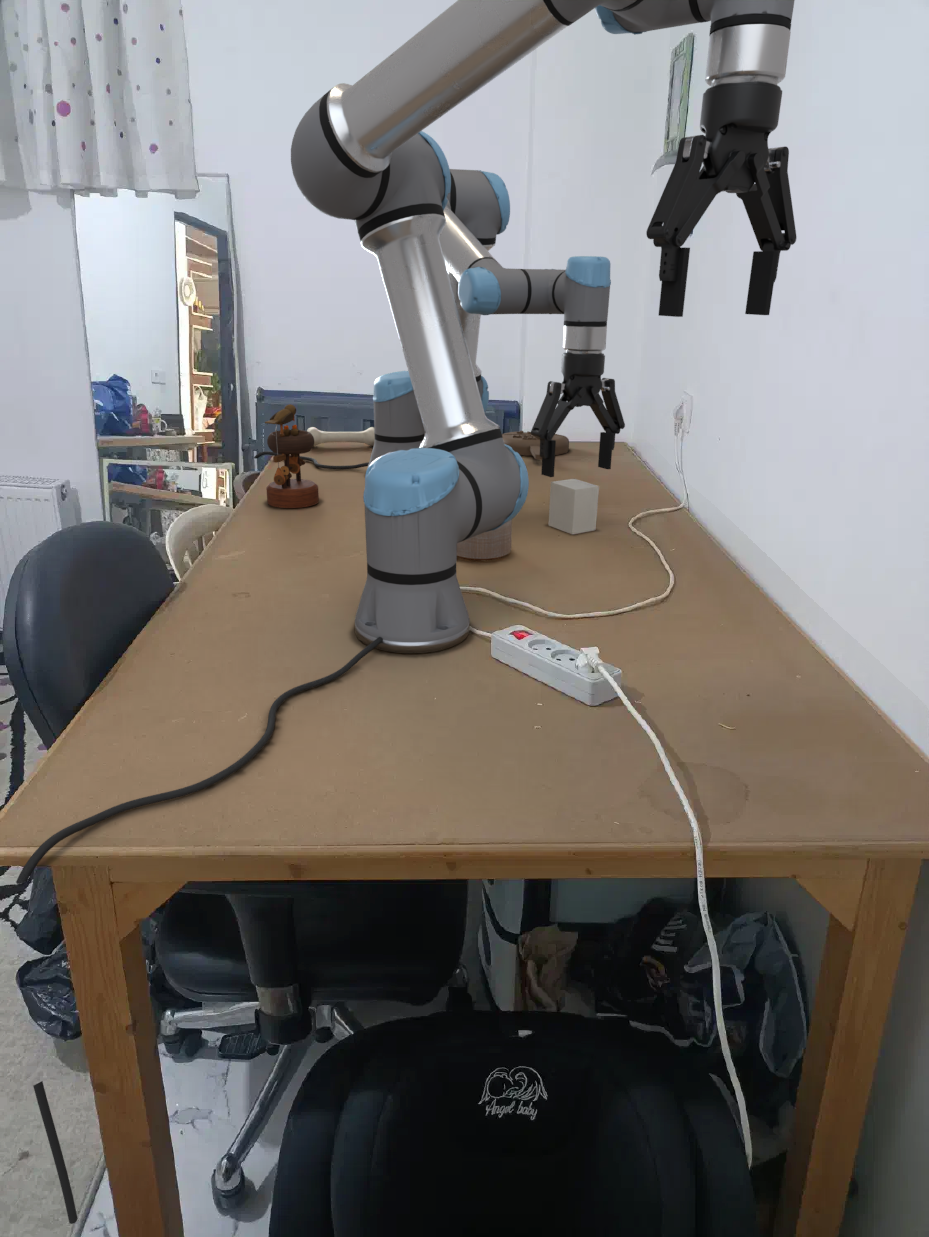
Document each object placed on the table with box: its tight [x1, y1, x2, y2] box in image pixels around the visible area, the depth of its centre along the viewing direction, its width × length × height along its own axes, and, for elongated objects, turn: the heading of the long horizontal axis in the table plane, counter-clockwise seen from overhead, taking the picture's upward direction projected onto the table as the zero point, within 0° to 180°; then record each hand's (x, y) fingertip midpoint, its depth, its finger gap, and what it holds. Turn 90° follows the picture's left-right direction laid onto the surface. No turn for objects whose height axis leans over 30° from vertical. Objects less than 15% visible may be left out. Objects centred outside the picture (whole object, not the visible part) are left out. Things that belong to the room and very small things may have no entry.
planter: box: [457, 519, 513, 562], centre depth 143 cm, size 11×11×10 cm
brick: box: [548, 478, 600, 535], centre depth 159 cm, size 6×7×8 cm
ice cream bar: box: [502, 430, 570, 461], centre depth 224 cm, size 21×28×4 cm
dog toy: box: [306, 426, 375, 447], centre depth 230 cm, size 20×6×5 cm, turn 99°
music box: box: [264, 403, 320, 509], centre depth 172 cm, size 15×11×20 cm
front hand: (715, 315), depth 91 cm, fingers open, 13 cm apart
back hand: (576, 472), depth 156 cm, fingers open, 13 cm apart
